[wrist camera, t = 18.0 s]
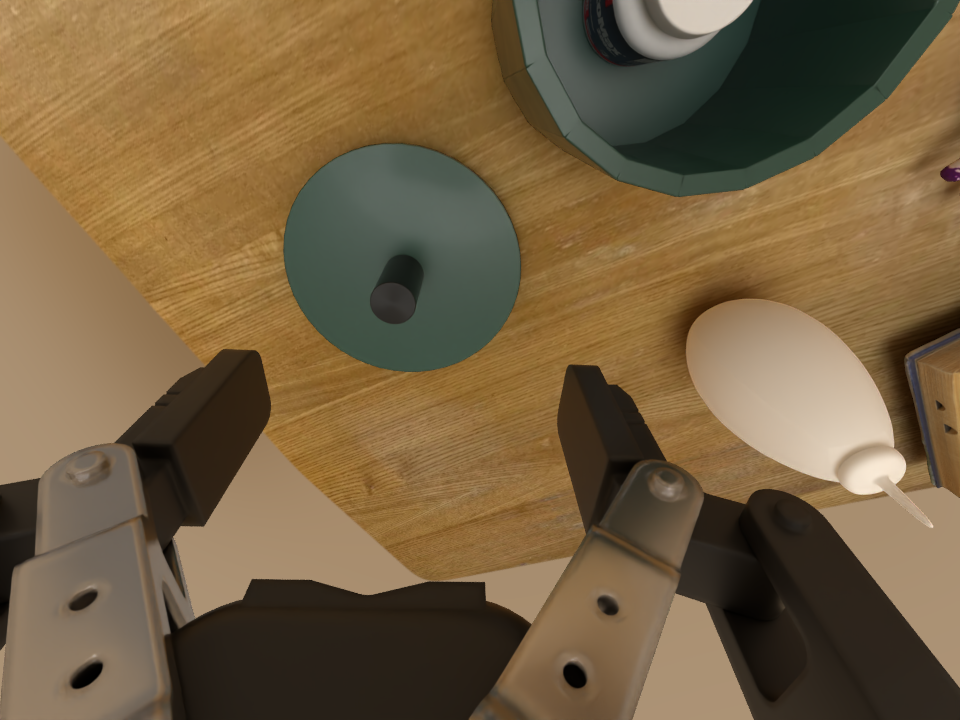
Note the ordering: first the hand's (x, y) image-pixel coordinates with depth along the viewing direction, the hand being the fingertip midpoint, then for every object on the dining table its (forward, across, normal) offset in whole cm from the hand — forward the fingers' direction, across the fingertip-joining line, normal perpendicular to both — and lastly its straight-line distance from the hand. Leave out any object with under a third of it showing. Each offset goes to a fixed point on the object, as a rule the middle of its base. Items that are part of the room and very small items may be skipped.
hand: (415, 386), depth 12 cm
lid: (+19, +3, +4) cm, 19 cm away
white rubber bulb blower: (+20, -20, +7) cm, 29 cm away
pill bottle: (+19, -9, -11) cm, 24 cm away
